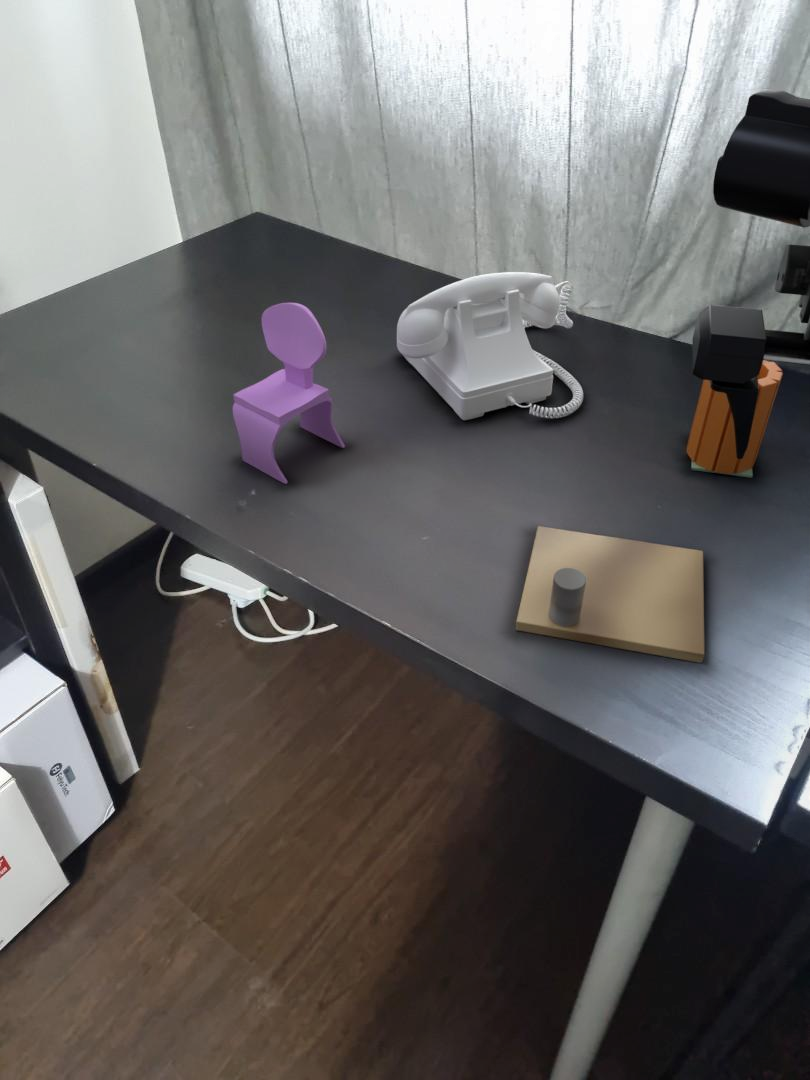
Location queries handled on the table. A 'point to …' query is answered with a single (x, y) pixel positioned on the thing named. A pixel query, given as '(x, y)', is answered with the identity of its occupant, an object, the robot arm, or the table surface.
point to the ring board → (615, 593)
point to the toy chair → (285, 388)
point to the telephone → (488, 342)
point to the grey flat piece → (744, 474)
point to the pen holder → (730, 425)
